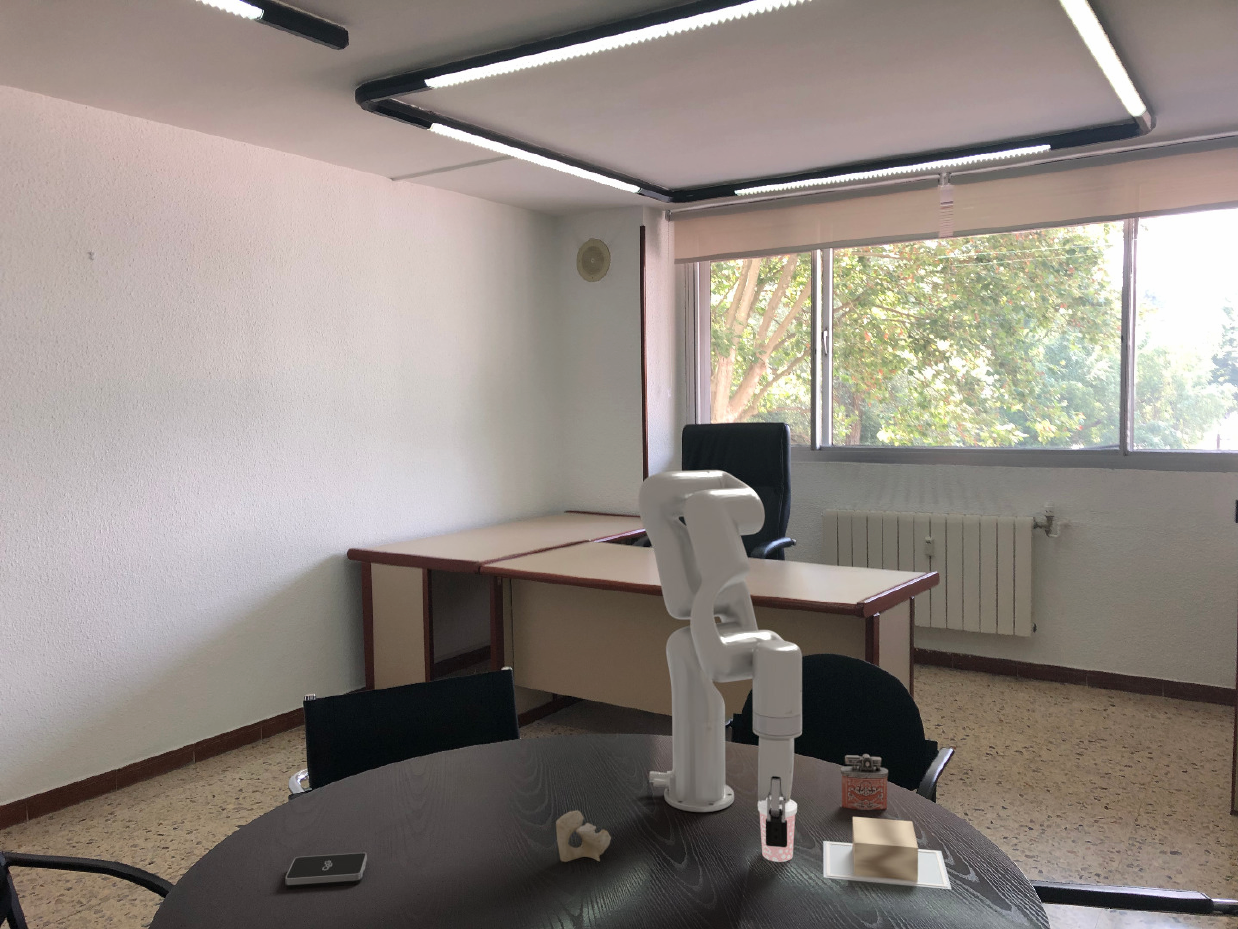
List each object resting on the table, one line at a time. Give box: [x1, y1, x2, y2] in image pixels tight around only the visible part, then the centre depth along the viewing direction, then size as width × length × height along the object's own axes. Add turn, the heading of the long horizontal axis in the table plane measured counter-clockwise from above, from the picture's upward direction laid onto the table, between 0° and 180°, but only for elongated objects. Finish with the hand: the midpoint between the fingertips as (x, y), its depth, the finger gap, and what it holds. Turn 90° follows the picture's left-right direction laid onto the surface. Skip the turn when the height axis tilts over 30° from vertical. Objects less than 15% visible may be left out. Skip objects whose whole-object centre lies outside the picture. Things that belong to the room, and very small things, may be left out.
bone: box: [555, 809, 612, 863], centre depth 147 cm, size 9×6×10 cm
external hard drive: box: [285, 852, 368, 890], centre depth 142 cm, size 7×11×2 cm, turn 97°
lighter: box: [840, 753, 889, 811], centre depth 162 cm, size 8×3×10 cm, turn 84°
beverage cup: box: [757, 797, 798, 863], centre depth 145 cm, size 6×6×14 cm
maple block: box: [852, 816, 919, 881], centre depth 142 cm, size 9×9×5 cm
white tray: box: [822, 840, 952, 891], centre depth 142 cm, size 18×12×1 cm, turn 78°
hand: (777, 835), depth 145 cm, fingers closed on beverage cup, 6 cm apart
